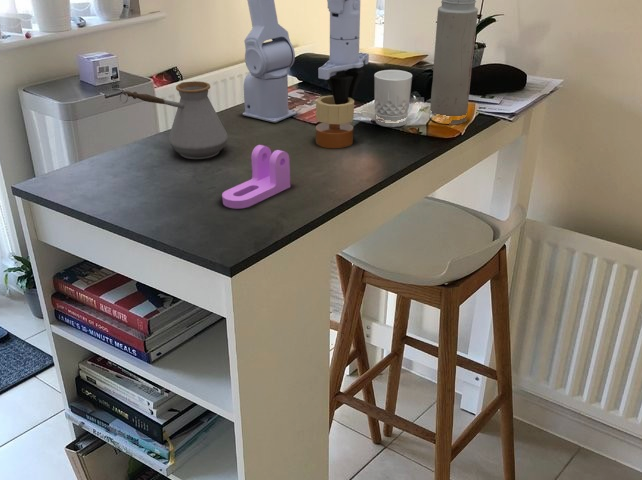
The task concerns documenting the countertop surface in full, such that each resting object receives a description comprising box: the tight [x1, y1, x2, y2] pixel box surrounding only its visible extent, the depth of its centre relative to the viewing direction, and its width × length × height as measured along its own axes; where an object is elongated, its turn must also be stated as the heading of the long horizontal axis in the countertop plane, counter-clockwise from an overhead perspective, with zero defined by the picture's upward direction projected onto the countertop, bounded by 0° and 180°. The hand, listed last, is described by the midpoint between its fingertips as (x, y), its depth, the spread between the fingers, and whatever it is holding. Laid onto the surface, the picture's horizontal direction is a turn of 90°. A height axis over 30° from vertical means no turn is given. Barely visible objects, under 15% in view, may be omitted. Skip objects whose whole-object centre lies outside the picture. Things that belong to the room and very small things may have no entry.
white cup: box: [373, 69, 413, 128], centre depth 160 cm, size 8×8×10 cm
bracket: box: [221, 144, 291, 210], centre depth 129 cm, size 13×6×7 cm, turn 141°
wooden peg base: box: [315, 122, 354, 149], centre depth 151 cm, size 8×8×7 cm
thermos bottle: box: [429, 0, 479, 126], centre depth 156 cm, size 8×8×28 cm
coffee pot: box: [119, 80, 229, 160], centre depth 141 cm, size 21×12×15 cm, turn 136°
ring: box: [315, 94, 355, 124], centre depth 149 cm, size 7×7×4 cm
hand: (343, 108), depth 152 cm, fingers closed on ring
